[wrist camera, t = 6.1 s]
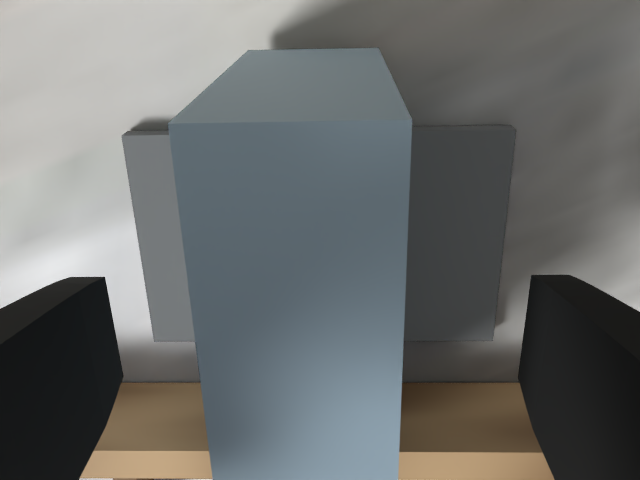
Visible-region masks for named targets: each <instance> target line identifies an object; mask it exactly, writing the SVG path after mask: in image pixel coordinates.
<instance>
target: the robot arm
mask: <svg viewBox="0 0 640 480" xmlns="http://www.w3.org/2000/svg"><path fill="white" fill-rule="evenodd" d="M122 379H123V372H122V366H121V361H120V356H119V350H118V345H117V340H116V334H115V329H114V323H113V318H112V313H111V307H110V302H109V297H108V291H107V286H106V281H105V277H69V278H66V279H63V280H60V281H58V282H55V283H53V284H51V285H48V286H46V287H44V288H42V289H40V290H37V291H35V292H33V293H31V294H29V295H27V296H25V297H23V298H21V299H19V300H17V301H15V302H13V303H11V304H9V305H7V306H5V307H3V308H1V309H0V480H79V478H80V476H81V474H82V473H83V471H84V469H85V467H86V465H87V463H88V461H89V459H90V457H91V455H92V453H93V451H94V449H95V447H96V445H97V443H98V441H99V439H100V437H101V435H102V433H103V431H104V429H105V427H106V425H107V422H108V419H109V417H110V414H111V411H112V409H113V406H114V403H115V400H116V397H117V394H118V391H119V388H120V385H121V382H122ZM518 379H519V383H520V386H521V390H522V394H523V398H524V401H525V405H526V409H527V412H528V415H529V419H530V422H531V425H532V429H533V431H534V434H535V436H536V438H537V441H538V443H539V445H540V448H541V450H542V452H543V455H544V457H545V459H546V461H547V464H548V466H549V468H550V471H551V473H552V475H553V477H554V480H640V312H639V311H637V310H635V309H633V308H632V307H630V306H628V305H626V304H625V303H623V302H621V301H619V300H617V299H616V298H614V297H612V296H610V295H609V294H607V293H605V292H603V291H601V290H599V289H598V288H596V287H594V286H592V285H590V284H588V283H586V282H584V281H582V280H580V279H578V278H575V277H573V276H570V275H531V282H530V290H529V298H528V305H527V313H526V320H525V328H524V335H523V343H522V351H521V358H520V366H519V373H518Z"/></svg>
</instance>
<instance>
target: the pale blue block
mask: <svg viewBox="0 0 640 480" xmlns="http://www.w3.org/2000/svg"><path fill="white" fill-rule="evenodd" d="M168 130H169V138H170V146H171V153H172V161H173V169H174V177H175V185H176V193H177V201H178V209H179V217H180V225H181V233H182V241H183V249H184V256H185V264H186V272H187V280H188V288H189V296H190V304H191V312H192V320H193V328H194V336H195V344H196V352H197V360H198V367H199V375H200V383H201V391H202V399H203V407H204V415H205V423H206V431H207V439H208V447H209V455H210V463H211V471H212V478H213V480H398V471H399V445H400V420H401V394H402V369H403V343H404V318H405V292H406V266H407V241H408V215H409V190H410V164H411V138H412V118H411V116H410V114H409V112H408V110H407V107H406V105H405V103H404V101H403V99H402V97H401V95H400V93H399V90H398V88H397V86H396V84H395V82H394V80H393V78H392V75H391V73H390V71H389V69H388V67H387V65H386V63H385V60H384V58H383V56H382V54H381V52H380V50H379V48H337V49H287V50H248V51H247V52H246V53H245V54H244V55H242V56H241V57H240V58H239V59H238V60H237V61H236V62H235V63H234V64H233V65H232V66H230V67H229V68H228V69H227V70H226V71H225V72H224V73H223V74H222V75H221V76H219V77H218V78H217V79H216V80H215V81H214V82H213V83H212V84H211V85H210V86H208V87H207V88H206V89H205V90H204V91H203V92H202V93H201V94H200V95H199V96H197V97H196V98H195V99H194V100H193V101H192V102H191V103H190V104H189V105H188V106H186V107H185V108H184V109H183V110H182V111H181V112H180V113H179V114H178V115H177V116H175V117H174V118H173V119H172V120H171V121H170V122H169V123H168Z"/></svg>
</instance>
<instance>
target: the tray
mask: <svg viewBox="0 0 640 480" xmlns="http://www.w3.org/2000/svg"><path fill="white" fill-rule="evenodd" d="M80 478H113V480H153V478H156V479H213V478H212V471H211V463H210V455H209V447H208V439H207V431H206V423H205V415H204V407H203V399H202V391H201V383H121V385H120V388H119V391H118V394H117V397H116V400H115V403H114V406H113V409H112V411H111V414H110V417H109V419H108V422H107V425H106V427H105V429H104V431H103V433H102V435H101V437H100V439H99V441H98V443H97V445H96V447H95V449H94V451H93V453H92V455H91V457H90V459H89V461H88V463H87V465H86V467H85V469H84V471H83V473H82V474H81V476H80ZM398 480H554V477H553V475H552V473H551V471H550V468H549V466H548V464H547V461H546V459H545V457H544V455H543V452H542V450H541V448H540V445H539V443H538V441H537V438H536V436H535V434H534V431H533V429H532V425H531V422H530V419H529V415H528V412H527V409H526V405H525V401H524V398H523V394H522V390H521V386H520V383H402V394H401V420H400V445H399V471H398Z"/></svg>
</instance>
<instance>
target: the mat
mask: <svg viewBox="0 0 640 480" xmlns="http://www.w3.org/2000/svg"><path fill="white" fill-rule="evenodd" d="M515 135H516V129H515V128H514V127H513V126H511V125H485V126H419V127H412V138H411V164H410V190H409V215H408V241H407V266H406V292H405V318H404V341H493V336H494V326H495V317H496V308H497V299H498V290H499V281H500V272H501V263H502V254H503V245H504V236H505V226H506V217H507V208H508V199H509V190H510V181H511V172H512V163H513V154H514V145H515ZM122 142H123V148H124V154H125V160H126V167H127V173H128V179H129V186H130V192H131V198H132V205H133V211H134V217H135V223H136V230H137V236H138V242H139V249H140V255H141V261H142V268H143V274H144V280H145V287H146V293H147V299H148V305H149V312H150V318H151V324H152V331H153V337H154V342H195V336H194V328H193V320H192V312H191V304H190V296H189V288H188V280H187V272H186V264H185V256H184V249H183V241H182V233H181V225H180V217H179V209H178V201H177V193H176V185H175V177H174V169H173V161H172V153H171V146H170V138H169V130H158V131H127V132H126V133H124V134H123V135H122Z"/></svg>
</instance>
